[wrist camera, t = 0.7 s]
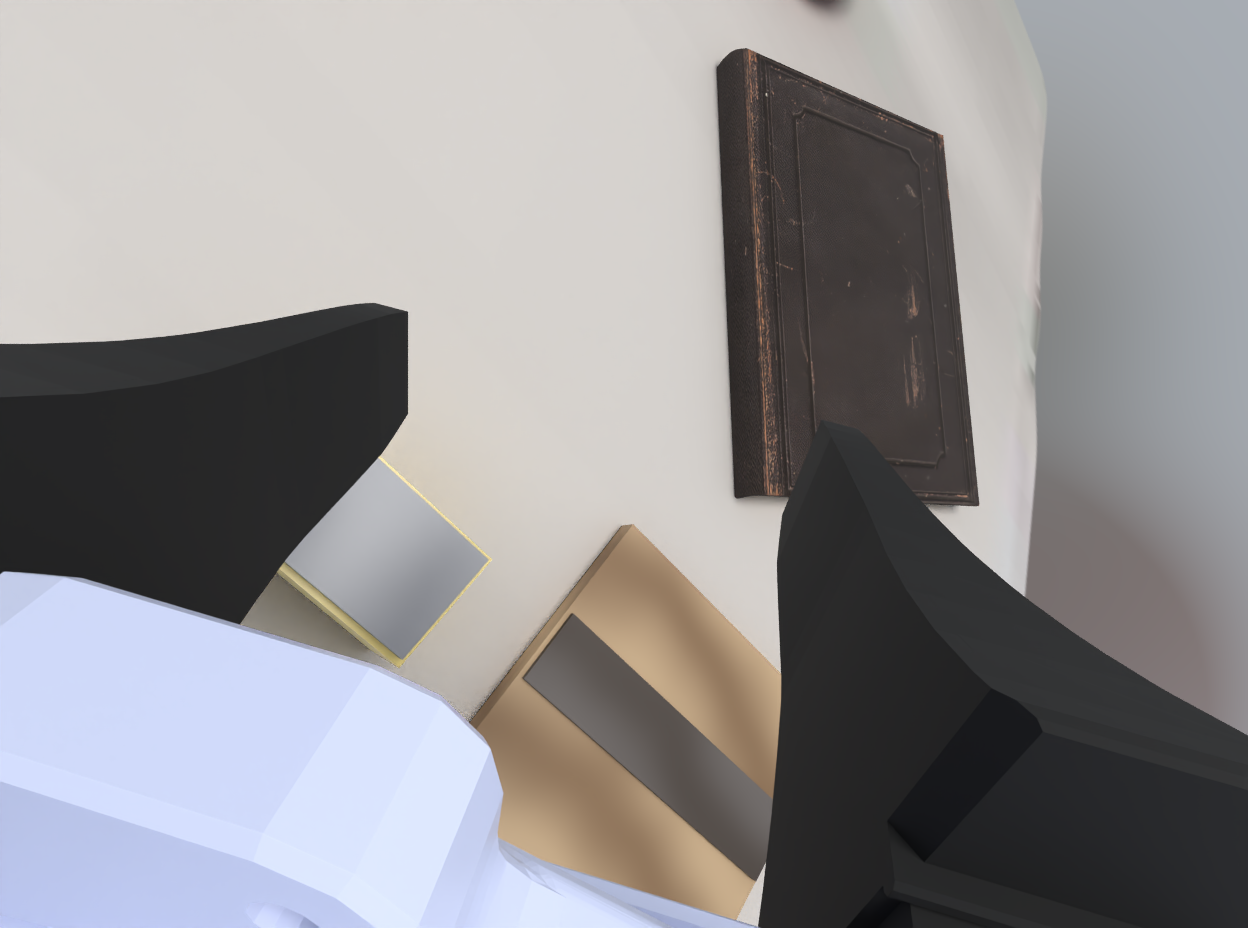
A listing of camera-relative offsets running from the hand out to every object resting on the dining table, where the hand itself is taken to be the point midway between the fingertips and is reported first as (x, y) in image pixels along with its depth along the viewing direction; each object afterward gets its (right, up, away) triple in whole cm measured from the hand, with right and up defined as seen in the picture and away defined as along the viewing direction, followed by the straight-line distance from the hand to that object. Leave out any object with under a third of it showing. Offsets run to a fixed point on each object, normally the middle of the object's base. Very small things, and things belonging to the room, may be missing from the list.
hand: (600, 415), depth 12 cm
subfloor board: (-1, -15, +15) cm, 21 cm away
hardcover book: (+12, +8, +27) cm, 31 cm away
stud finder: (-10, -4, +12) cm, 16 cm away
